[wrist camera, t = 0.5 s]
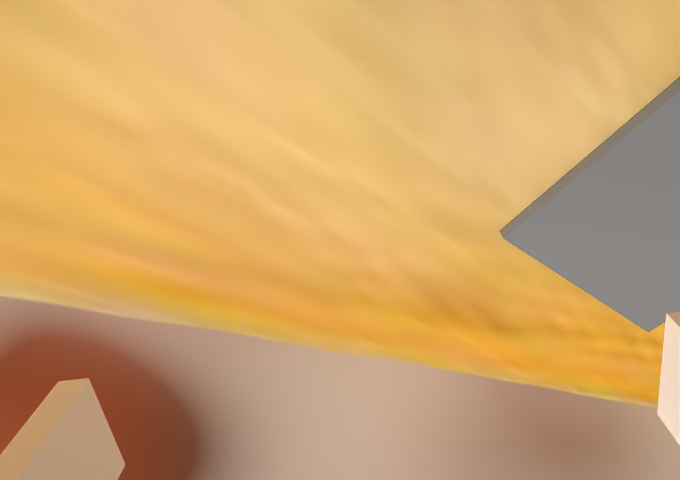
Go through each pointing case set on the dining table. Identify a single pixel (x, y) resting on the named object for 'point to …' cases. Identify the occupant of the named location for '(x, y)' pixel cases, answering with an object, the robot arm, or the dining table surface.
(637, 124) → the mat
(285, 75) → the dining table surface
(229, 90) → the dining table surface
